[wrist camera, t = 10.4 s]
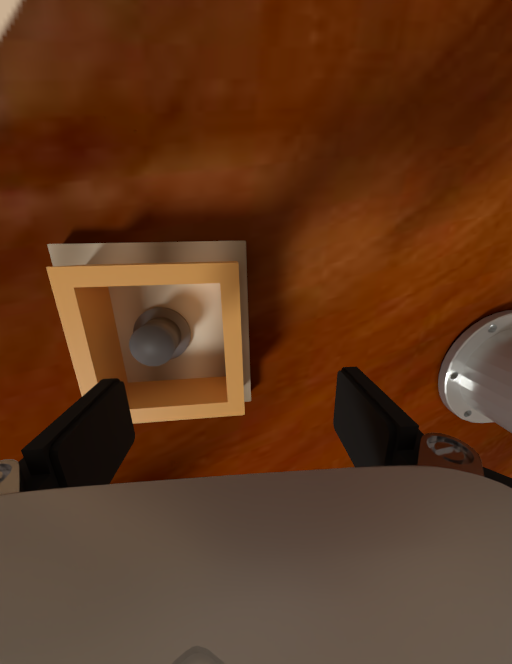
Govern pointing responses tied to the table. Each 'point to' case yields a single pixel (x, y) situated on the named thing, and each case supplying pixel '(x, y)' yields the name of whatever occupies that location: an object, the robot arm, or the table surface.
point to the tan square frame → (104, 347)
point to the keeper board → (168, 309)
